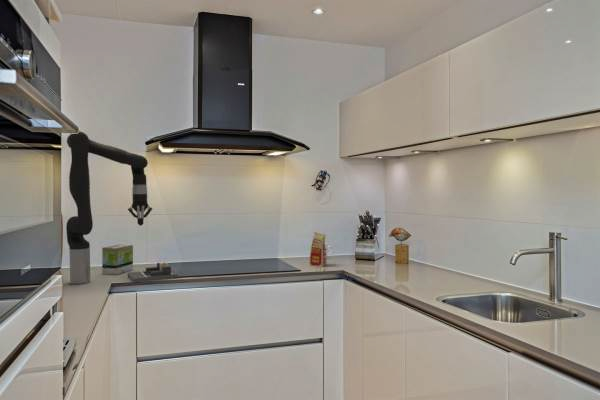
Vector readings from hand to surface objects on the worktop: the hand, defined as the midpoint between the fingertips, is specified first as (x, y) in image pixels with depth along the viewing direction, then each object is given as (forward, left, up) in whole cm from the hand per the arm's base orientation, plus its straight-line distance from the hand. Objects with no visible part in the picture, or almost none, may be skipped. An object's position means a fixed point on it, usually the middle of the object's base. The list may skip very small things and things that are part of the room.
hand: (140, 225), depth 244 cm
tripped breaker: (+10, -9, -25) cm, 28 cm away
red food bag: (+97, -25, -27) cm, 104 cm away
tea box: (-10, +16, -27) cm, 33 cm away
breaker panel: (+4, -10, -27) cm, 29 cm away
